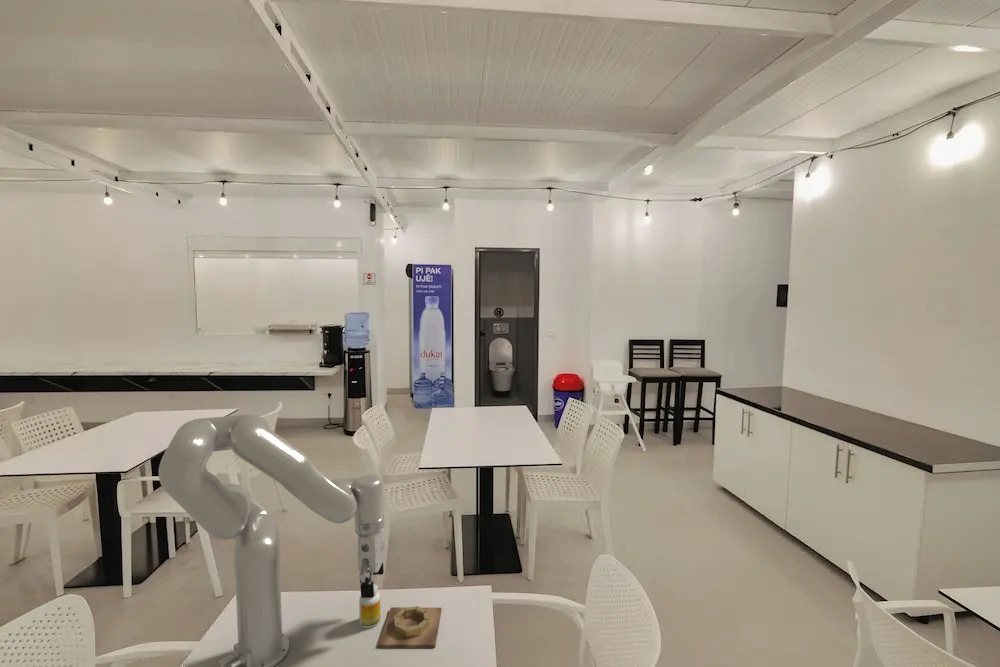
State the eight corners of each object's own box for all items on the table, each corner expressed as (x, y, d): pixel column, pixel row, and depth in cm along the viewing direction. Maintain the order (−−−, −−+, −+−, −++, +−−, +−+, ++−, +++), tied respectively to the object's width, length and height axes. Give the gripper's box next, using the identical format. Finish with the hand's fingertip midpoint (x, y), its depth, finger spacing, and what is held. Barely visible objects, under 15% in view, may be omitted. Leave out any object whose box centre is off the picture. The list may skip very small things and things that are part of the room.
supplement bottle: (356, 620, 128) (355, 586, 128) (375, 612, 132) (374, 579, 131) (364, 631, 124) (364, 596, 123) (384, 623, 128) (383, 588, 127)
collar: (413, 641, 120) (413, 634, 120) (387, 628, 124) (387, 621, 124) (435, 621, 127) (435, 614, 127) (410, 609, 132) (410, 602, 132)
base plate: (378, 647, 119) (378, 644, 119) (390, 610, 133) (390, 607, 133) (435, 647, 119) (435, 644, 119) (441, 610, 133) (441, 607, 133)
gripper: (375, 541, 117) (378, 606, 119) (391, 508, 134) (394, 565, 136) (344, 541, 117) (348, 607, 119) (364, 508, 134) (368, 566, 136)
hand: (372, 585), depth 128 cm, fingers open, 9 cm apart
